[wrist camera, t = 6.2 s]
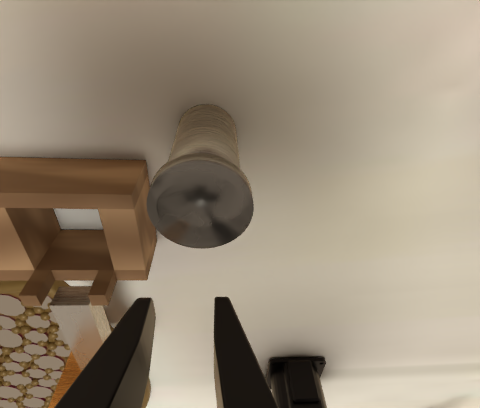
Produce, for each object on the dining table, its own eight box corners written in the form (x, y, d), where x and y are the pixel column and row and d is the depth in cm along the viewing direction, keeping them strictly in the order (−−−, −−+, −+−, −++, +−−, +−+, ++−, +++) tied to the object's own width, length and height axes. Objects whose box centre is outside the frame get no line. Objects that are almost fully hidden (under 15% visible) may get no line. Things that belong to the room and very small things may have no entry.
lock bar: (142, 354, 28) (122, 448, 23) (85, 355, 28) (50, 450, 22) (121, 271, 22) (86, 373, 16) (47, 271, 22) (-14, 375, 16)
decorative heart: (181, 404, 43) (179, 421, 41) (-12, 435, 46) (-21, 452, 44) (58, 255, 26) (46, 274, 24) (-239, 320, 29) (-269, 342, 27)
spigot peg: (240, 164, 21) (249, 248, 14) (174, 163, 21) (152, 248, 14) (244, 98, 18) (257, 163, 12) (168, 96, 18) (139, 161, 12)
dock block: (157, 240, 24) (140, 305, 20) (-18, 239, 24) (-81, 306, 19) (145, 160, 20) (122, 217, 15) (-67, 155, 19) (-163, 214, 15)
